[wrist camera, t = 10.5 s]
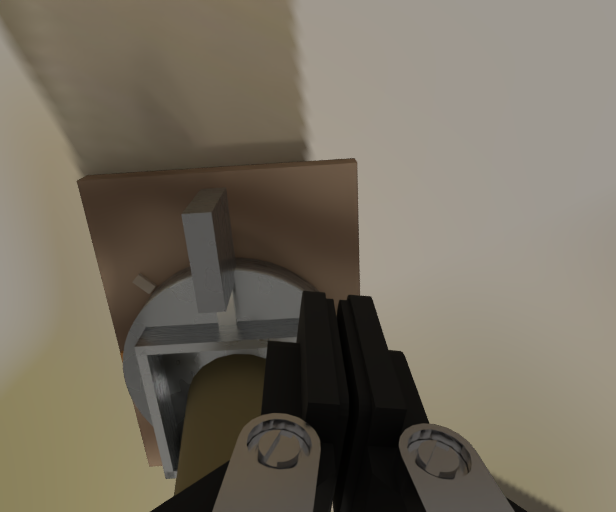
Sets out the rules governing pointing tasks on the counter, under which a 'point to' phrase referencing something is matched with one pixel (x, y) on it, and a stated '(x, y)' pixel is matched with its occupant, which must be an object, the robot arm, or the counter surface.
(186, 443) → the cork
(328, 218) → the board
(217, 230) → the grey handled box
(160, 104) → the counter surface
